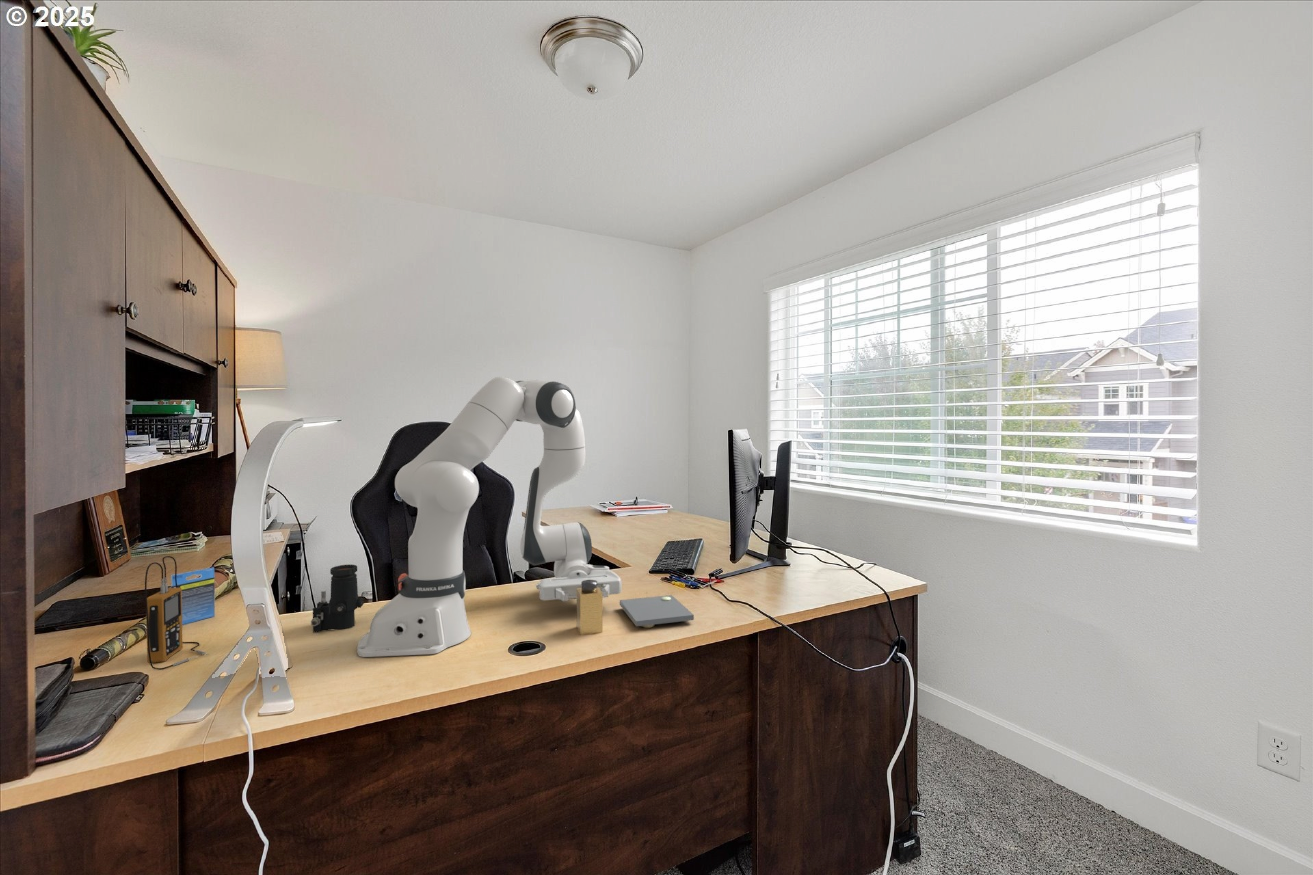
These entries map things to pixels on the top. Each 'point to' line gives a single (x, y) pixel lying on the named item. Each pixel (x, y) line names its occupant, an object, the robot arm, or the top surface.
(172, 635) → the multimeter
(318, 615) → the scope
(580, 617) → the block with dome knob
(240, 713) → the top surface
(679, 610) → the base
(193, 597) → the label tape box
